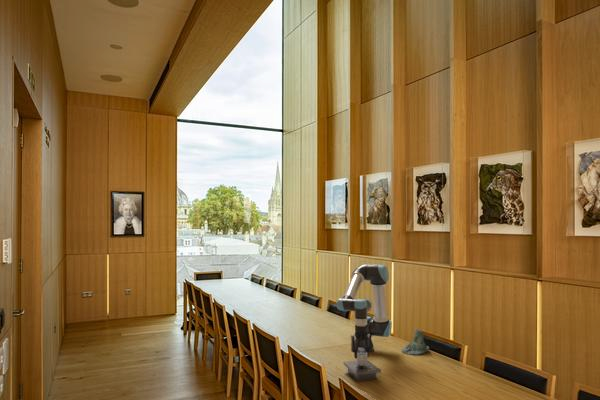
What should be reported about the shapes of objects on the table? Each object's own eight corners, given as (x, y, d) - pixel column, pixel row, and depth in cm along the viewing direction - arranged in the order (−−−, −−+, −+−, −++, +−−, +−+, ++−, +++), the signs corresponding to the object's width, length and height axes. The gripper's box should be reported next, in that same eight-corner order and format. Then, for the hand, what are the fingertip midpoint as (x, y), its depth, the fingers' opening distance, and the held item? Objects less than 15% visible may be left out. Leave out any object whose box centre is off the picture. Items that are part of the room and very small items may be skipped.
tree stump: (395, 349, 312) (399, 325, 315) (418, 353, 318) (422, 329, 321) (409, 355, 295) (413, 330, 298) (433, 360, 300) (437, 334, 303)
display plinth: (343, 371, 266) (343, 361, 267) (366, 368, 271) (366, 359, 271) (356, 383, 247) (356, 372, 247) (380, 380, 251) (380, 369, 252)
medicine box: (356, 361, 263) (356, 347, 264) (364, 361, 263) (363, 347, 264) (359, 365, 255) (358, 351, 256) (366, 365, 256) (366, 351, 256)
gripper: (349, 327, 254) (350, 366, 253) (377, 325, 259) (377, 363, 258) (345, 324, 262) (345, 362, 260) (371, 322, 267) (372, 359, 265)
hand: (361, 362), depth 259 cm, fingers closed on medicine box, 5 cm apart
